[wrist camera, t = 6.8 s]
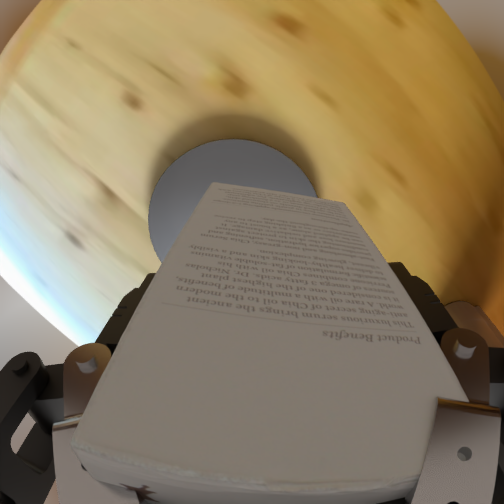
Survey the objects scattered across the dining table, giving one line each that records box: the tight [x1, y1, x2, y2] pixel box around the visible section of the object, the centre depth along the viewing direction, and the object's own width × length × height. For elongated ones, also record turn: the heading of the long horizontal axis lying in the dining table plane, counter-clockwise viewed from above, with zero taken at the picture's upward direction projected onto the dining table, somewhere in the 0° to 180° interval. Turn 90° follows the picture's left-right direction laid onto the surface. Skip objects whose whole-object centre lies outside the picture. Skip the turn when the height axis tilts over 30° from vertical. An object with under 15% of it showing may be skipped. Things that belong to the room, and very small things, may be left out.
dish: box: [148, 139, 318, 263], centre depth 29 cm, size 16×16×2 cm
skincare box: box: [70, 182, 469, 504], centre depth 9 cm, size 6×4×12 cm
